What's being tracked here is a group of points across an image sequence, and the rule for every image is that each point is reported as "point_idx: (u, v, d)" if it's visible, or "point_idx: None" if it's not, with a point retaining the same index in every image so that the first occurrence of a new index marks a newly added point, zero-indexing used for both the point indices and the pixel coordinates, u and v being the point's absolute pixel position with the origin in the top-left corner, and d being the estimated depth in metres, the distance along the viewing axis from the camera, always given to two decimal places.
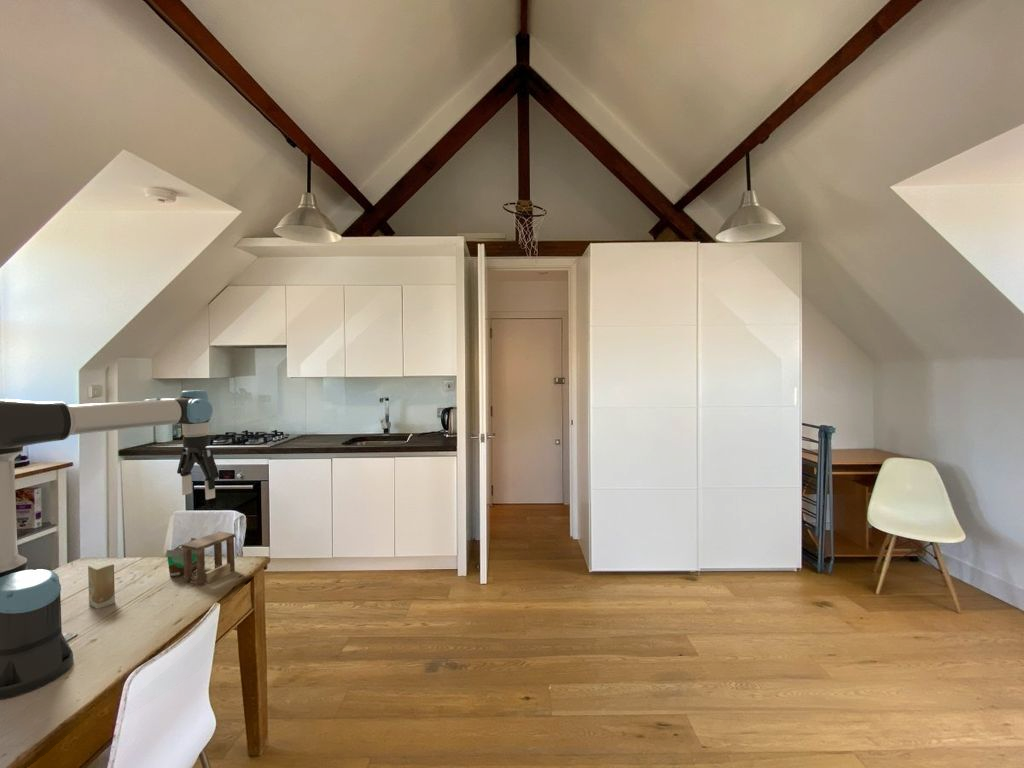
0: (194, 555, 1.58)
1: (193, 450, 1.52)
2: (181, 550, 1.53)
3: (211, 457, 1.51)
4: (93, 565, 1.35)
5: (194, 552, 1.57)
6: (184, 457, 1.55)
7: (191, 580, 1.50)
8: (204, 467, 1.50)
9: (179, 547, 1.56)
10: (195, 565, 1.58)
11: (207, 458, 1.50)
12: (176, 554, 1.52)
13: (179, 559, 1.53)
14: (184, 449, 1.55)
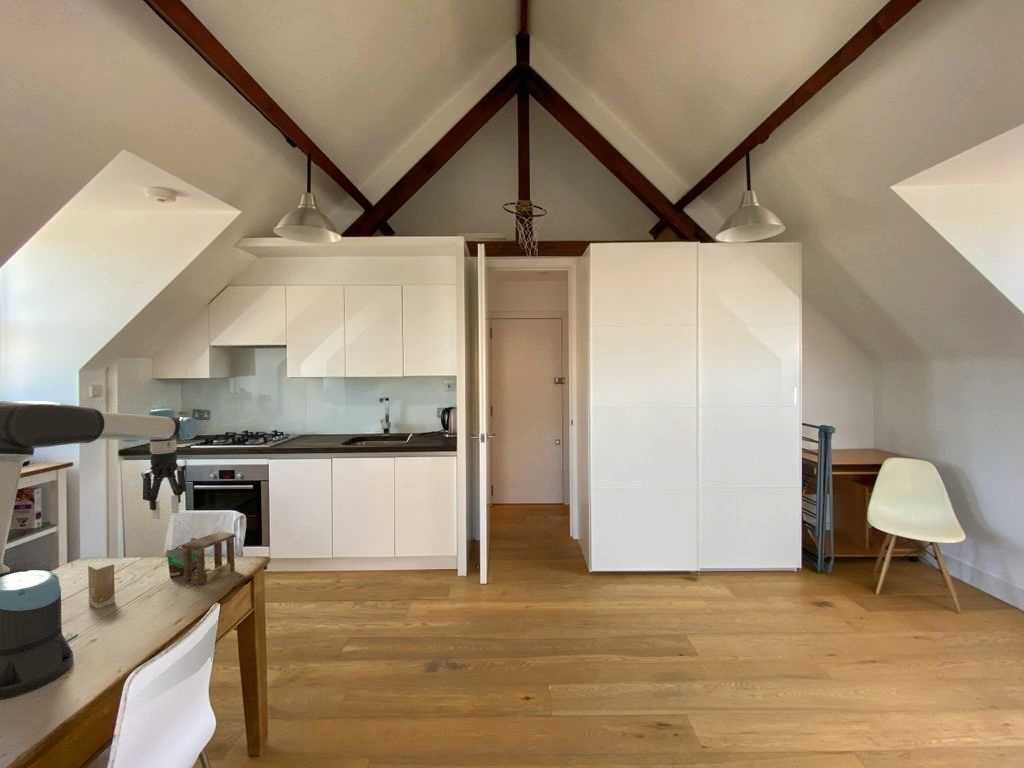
0: (194, 555, 1.58)
1: None
2: (181, 550, 1.53)
3: (146, 480, 1.55)
4: (93, 565, 1.35)
5: (194, 552, 1.57)
6: (178, 473, 1.66)
7: (191, 580, 1.50)
8: (152, 487, 1.58)
9: (179, 547, 1.56)
10: (195, 565, 1.58)
11: (144, 480, 1.55)
12: (176, 554, 1.52)
13: (179, 559, 1.53)
14: None
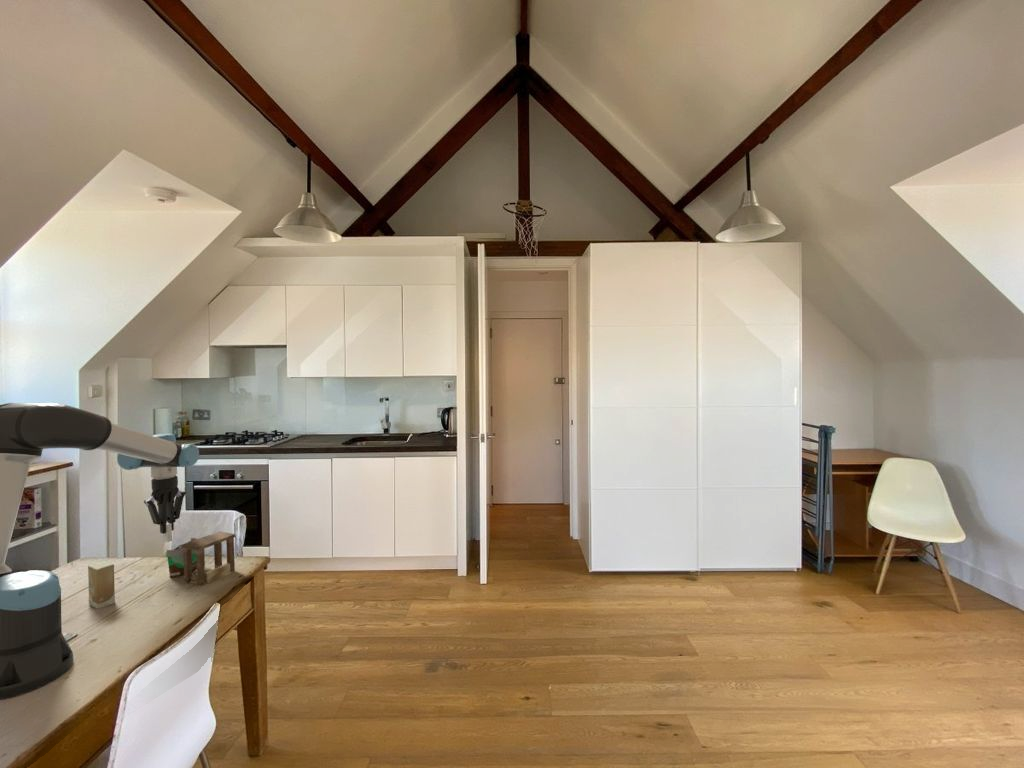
0: (194, 555, 1.58)
1: None
2: (181, 550, 1.53)
3: (150, 507, 1.56)
4: (93, 565, 1.35)
5: (194, 552, 1.57)
6: (176, 499, 1.65)
7: (191, 580, 1.50)
8: (159, 511, 1.60)
9: (179, 547, 1.56)
10: (195, 565, 1.58)
11: (148, 507, 1.57)
12: (176, 554, 1.52)
13: (179, 559, 1.53)
14: None
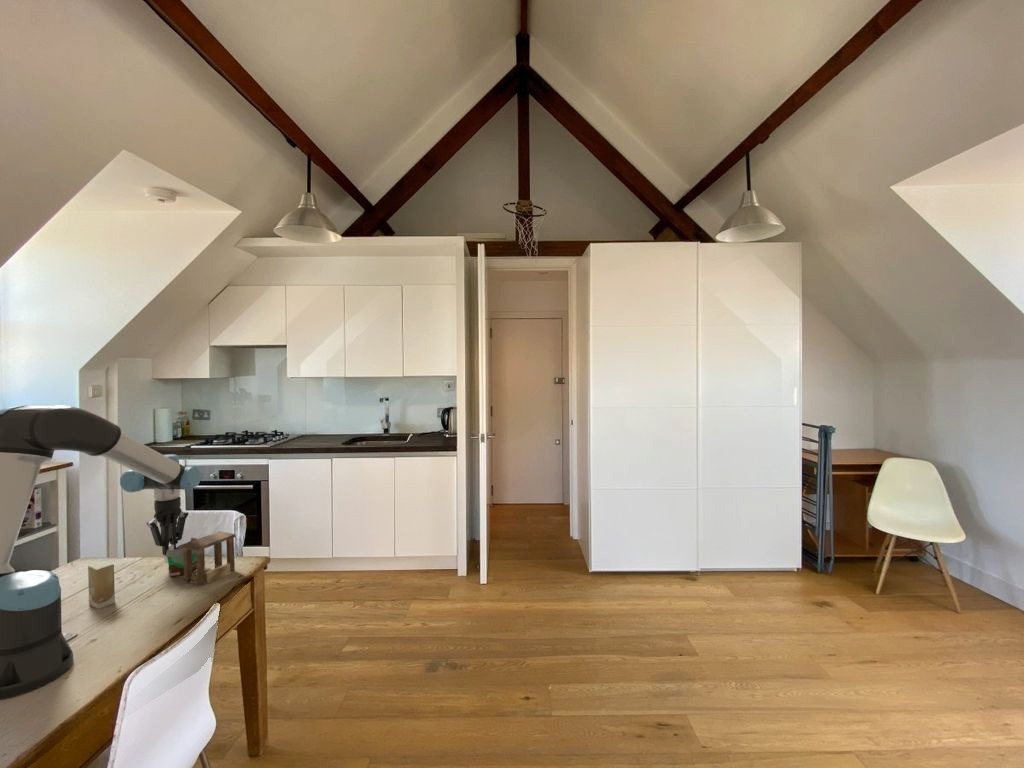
0: (194, 555, 1.58)
1: None
2: (181, 550, 1.53)
3: (153, 529, 1.56)
4: (93, 565, 1.35)
5: (194, 552, 1.57)
6: (178, 520, 1.65)
7: (191, 580, 1.50)
8: (161, 533, 1.60)
9: (179, 547, 1.56)
10: (195, 565, 1.58)
11: (151, 529, 1.56)
12: (176, 554, 1.52)
13: (179, 559, 1.53)
14: None
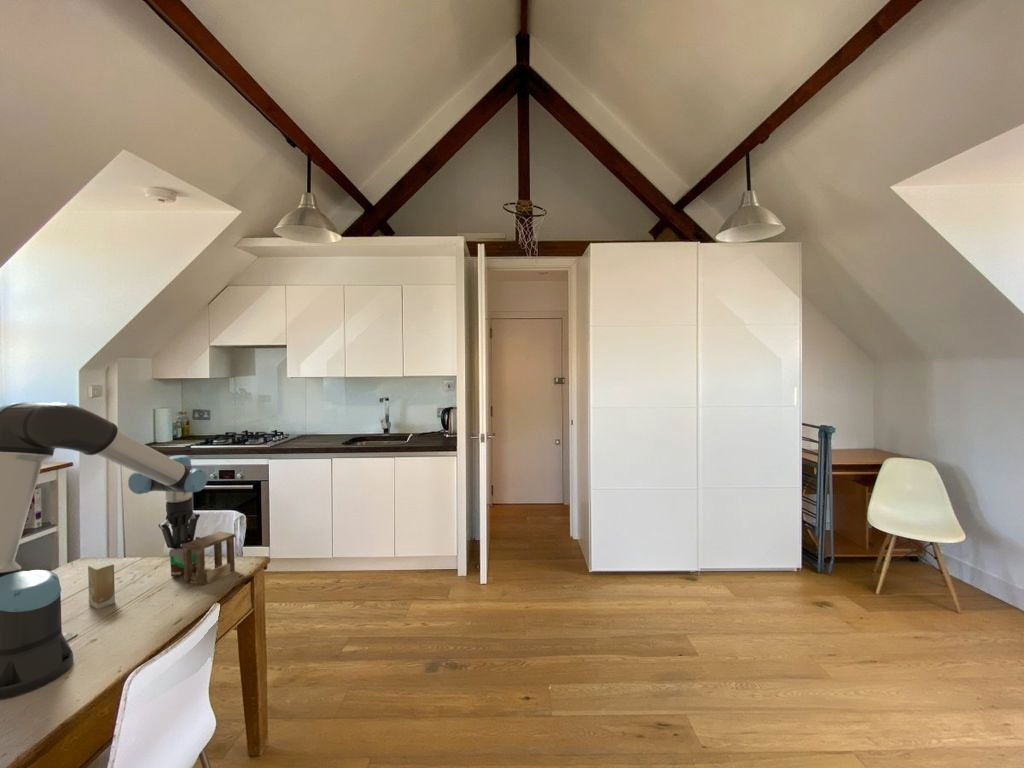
0: None
1: None
2: None
3: (165, 531, 1.54)
4: (93, 565, 1.35)
5: None
6: (190, 522, 1.63)
7: (191, 580, 1.50)
8: (173, 535, 1.57)
9: None
10: None
11: (163, 531, 1.54)
12: (179, 554, 1.52)
13: (181, 559, 1.53)
14: None
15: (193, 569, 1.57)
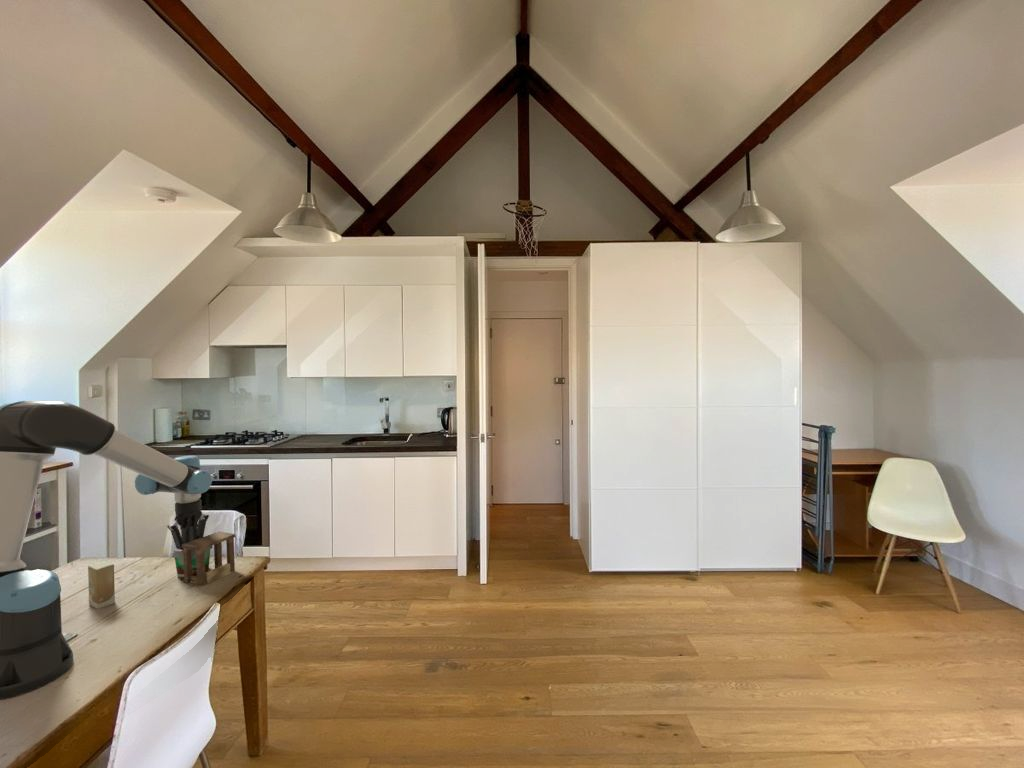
0: None
1: None
2: None
3: (174, 532, 1.52)
4: (93, 565, 1.35)
5: None
6: (199, 523, 1.61)
7: (191, 580, 1.50)
8: (182, 536, 1.56)
9: None
10: None
11: (172, 532, 1.53)
12: (180, 556, 1.51)
13: None
14: None
15: None
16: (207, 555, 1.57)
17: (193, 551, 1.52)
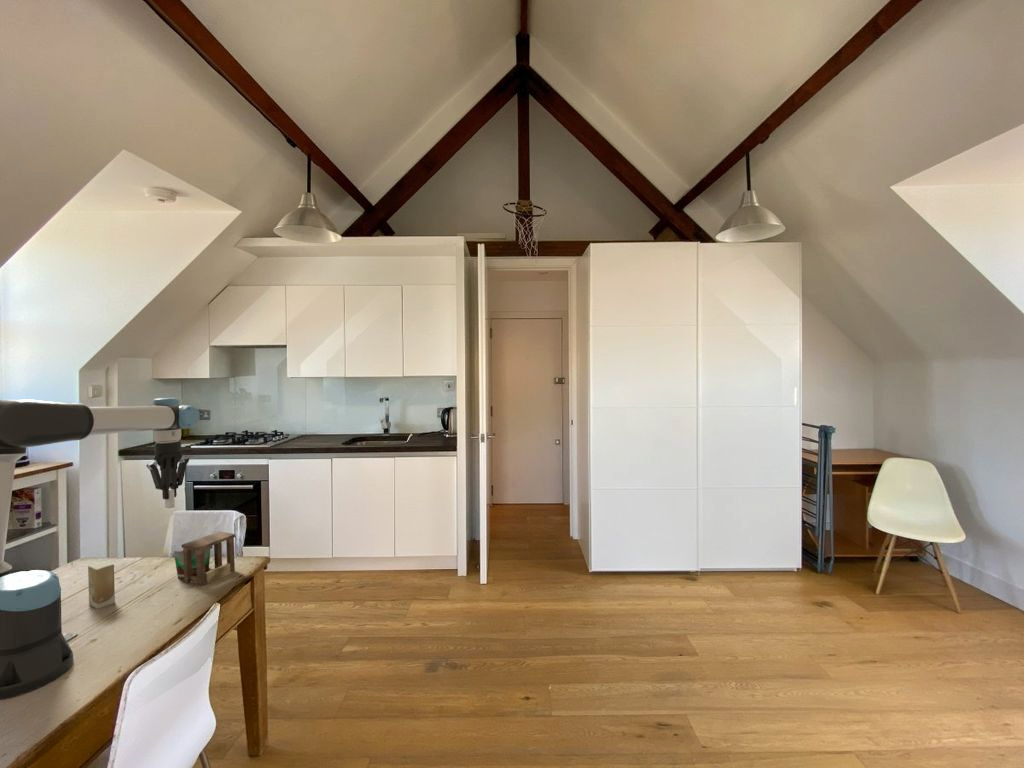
0: None
1: None
2: None
3: (153, 471, 1.53)
4: (93, 565, 1.35)
5: None
6: (179, 465, 1.62)
7: (191, 580, 1.50)
8: (161, 477, 1.57)
9: None
10: None
11: (151, 471, 1.54)
12: (180, 556, 1.51)
13: None
14: None
15: None
16: (207, 555, 1.57)
17: (193, 551, 1.52)
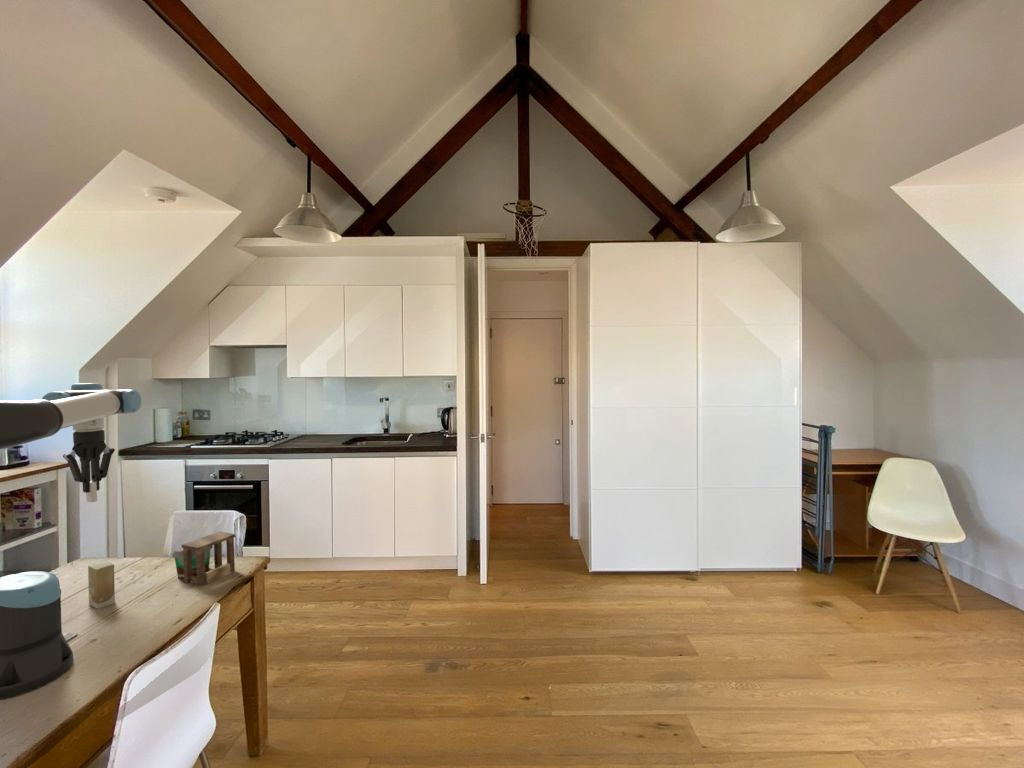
0: None
1: None
2: None
3: (71, 462, 1.41)
4: (93, 565, 1.35)
5: None
6: (103, 456, 1.50)
7: (191, 580, 1.50)
8: (81, 468, 1.45)
9: None
10: None
11: (68, 462, 1.42)
12: (180, 556, 1.51)
13: None
14: None
15: None
16: (207, 555, 1.57)
17: (193, 551, 1.52)
